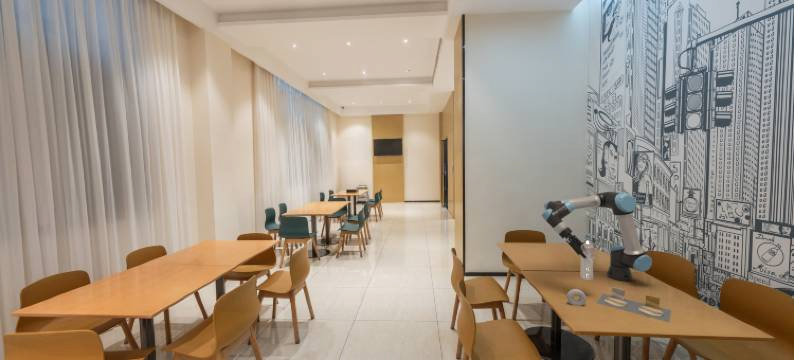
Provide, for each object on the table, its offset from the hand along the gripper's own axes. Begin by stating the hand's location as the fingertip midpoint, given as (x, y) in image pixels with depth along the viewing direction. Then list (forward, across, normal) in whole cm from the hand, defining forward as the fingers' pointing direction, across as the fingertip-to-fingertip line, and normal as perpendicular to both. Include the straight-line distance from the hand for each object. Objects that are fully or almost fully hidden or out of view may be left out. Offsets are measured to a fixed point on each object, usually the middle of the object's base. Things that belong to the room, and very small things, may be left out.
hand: (591, 260), depth 189 cm
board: (+31, -1, -2) cm, 31 cm away
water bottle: (+6, 0, -10) cm, 12 cm away
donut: (+14, +18, -19) cm, 30 cm away
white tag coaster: (+24, -2, -7) cm, 25 cm away
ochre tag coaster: (+36, -2, +4) cm, 36 cm away
